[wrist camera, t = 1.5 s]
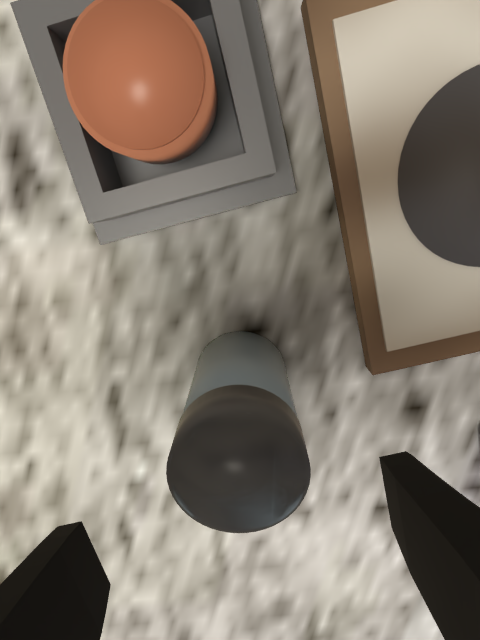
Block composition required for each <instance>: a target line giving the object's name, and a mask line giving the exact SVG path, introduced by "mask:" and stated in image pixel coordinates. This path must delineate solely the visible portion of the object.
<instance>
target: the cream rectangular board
mask: <svg viewBox="0 0 480 640" xmlns="http://www.w3.org/2000/svg"><path fill="white" fill-rule="evenodd" d="M301 11H302V17H303V22H304V28H305V33H306V39H307V44H308V50H309V55H310V61H311V66H312V72H313V77H314V83H315V88H316V94H317V100H318V105H319V111H320V116H321V122H322V127H323V133H324V138H325V144H326V149H327V155H328V160H329V166H330V171H331V177H332V182H333V188H334V193H335V199H336V204H337V210H338V215H339V221H340V226H341V232H342V237H343V243H344V248H345V254H346V259H347V265H348V270H349V276H350V281H351V287H352V292H353V298H354V303H355V309H356V314H357V320H358V325H359V331H360V336H361V342H362V347H363V353H364V359H365V364H366V367H367V368H368V370H369V371H370V372H371V374H372V375H376V374H381V373H385V372H390V371H394V370H398V369H403V368H407V367H412V366H416V365H421V364H425V363H430V362H434V361H438V360H443V359H447V358H452V357H456V356H461V355H465V354H470V353H474V352H478V351H480V0H303V2H302V5H301Z"/></svg>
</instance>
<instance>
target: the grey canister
mask: <svg viewBox="0 0 480 640" xmlns="http://www.w3.org/2000/svg"><path fill="white" fill-rule="evenodd" d="M166 474H167V482H168V485H169V489H170V491H171V494H172V496H173V498H174V499H175V501H176V502H177V504H178V505H179V506H180V507H181V509H182V510H183V511H184V512H185V513H186V514H187V515H189V516H190V517H191V518H193V519H194V520H195V521H197V522H199V523H201V524H202V525H205V526H207V527H209V528H212V529H215V530H219V531H224V532H230V533H249V532H256V531H260V530H263V529H266V528H269V527H272V526H274V525H276V524H278V523H280V522H281V521H283V520H284V519H286V518H287V517H288V516H289V515H291V514H292V513H293V512H294V511H295V510H296V509H297V507H298V506H299V505H300V503H301V502H302V500H303V499H304V497H305V495H306V493H307V490H308V487H309V483H310V463H309V458H308V454H307V450H306V445H305V441H304V437H303V433H302V429H301V426H300V423H299V420H298V418H297V415H296V411H295V406H294V402H293V398H292V394H291V389H290V385H289V381H288V377H287V373H286V368H285V364H284V361H283V358H282V356H281V354H280V352H279V351H278V349H277V348H276V347H275V346H274V344H272V343H271V342H270V341H269V340H267V339H266V338H264V337H262V336H260V335H258V334H255V333H251V332H244V331H237V332H230V333H227V334H224V335H222V336H219V337H218V338H216V339H214V340H213V341H212V342H211V343H209V344H208V345H207V347H206V348H205V349H204V350H203V352H202V354H201V356H200V358H199V361H198V364H197V368H196V371H195V374H194V378H193V381H192V385H191V388H190V391H189V395H188V398H187V402H186V405H185V408H184V412H183V415H182V417H181V419H180V421H179V424H178V427H177V430H176V433H175V437H174V440H173V443H172V447H171V450H170V453H169V457H168V461H167V472H166Z"/></svg>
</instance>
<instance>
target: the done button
mask: <svg viewBox="0 0 480 640" xmlns="http://www.w3.org/2000/svg"><path fill="white" fill-rule="evenodd" d="M63 79H64V85H65V90H66V94H67V97H68V100H69V103H70V105H71V108H72V110H73V112H74V113H75V115H76V117H77V119H78V120H79V122H80V123H81V125H82V126H83V127H84V128H85V130H86V131H87V132H88V133H89V134H90V135H91V136H92V137H93V138H94V139H95V140H97V141H98V142H99V143H101V144H102V145H103V146H105V147H106V148H108V149H110V150H112V151H114V152H117V153H119V154H122V155H125V156H128V157H130V158H133V159H136V160H139V161H141V162H145V163H149V164H158V165H159V164H169V163H174V162H177V161H180V160H182V159H184V158H186V157H188V156H189V155H191V154H192V153H193V152H195V151H196V150H197V149H198V148H199V147H200V146H201V145H202V143H203V142H204V141H205V140H206V138H207V136H208V135H209V133H210V131H211V129H212V126H213V124H214V120H215V117H216V112H217V101H218V97H217V87H216V81H215V77H214V73H213V69H212V65H211V61H210V57H209V54H208V50H207V47H206V44H205V42H204V40H203V37H202V35H201V33H200V32H199V30H198V28H197V27H196V25H195V24H194V22H193V21H192V20H191V18H190V17H189V16H188V15H187V14H186V13H185V12H184V11H183V10H182V9H181V8H180V7H179V6H178V5H176V4H175V3H174V2H172V1H171V0H95V1H93V2H92V3H91V4H90V5H89V6H87V7H86V8H85V9H84V11H83V12H82V13H81V14H80V15H79V17H78V18H77V20H76V21H75V23H74V24H73V26H72V28H71V31H70V33H69V35H68V38H67V41H66V44H65V50H64V55H63Z"/></svg>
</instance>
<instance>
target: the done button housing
mask: <svg viewBox="0 0 480 640" xmlns="http://www.w3.org/2000/svg"><path fill="white" fill-rule="evenodd" d="M93 1H95V0H18V1H15V2H12V3H10V4H11V6H12V9H13V12H14V15H15V18H16V20H17V23H18V26H19V29H20V32H21V35H22V37H23V40H24V43H25V46H26V49H27V51H28V54H29V57H30V60H31V63H32V66H33V68H34V71H35V74H36V77H37V80H38V82H39V85H40V88H41V91H42V94H43V96H44V99H45V102H46V105H47V108H48V111H49V113H50V116H51V119H52V122H53V125H54V127H55V130H56V133H57V136H58V139H59V141H60V144H61V147H62V150H63V153H64V156H65V158H66V161H67V164H68V167H69V170H70V172H71V175H72V178H73V181H74V184H75V187H76V189H77V192H78V195H79V198H80V201H81V203H82V206H83V209H84V212H85V215H86V217H87V220H88V223H93V226H94V228H95V231H96V234H97V237H98V240H99V243H100V245H102V244H106V243H110V242H113V241H117V240H121V239H125V238H128V237H132V236H136V235H140V234H143V233H147V232H151V231H155V230H158V229H162V228H166V227H170V226H173V225H177V224H181V223H185V222H188V221H192V220H196V219H200V218H203V217H207V216H211V215H215V214H218V213H222V212H226V211H230V210H233V209H237V208H241V207H245V206H248V205H252V204H256V203H260V202H263V201H267V200H271V199H274V198H278V197H282V196H286V195H289V194H293V193H297V192H296V187H295V182H294V177H293V173H292V168H291V163H290V158H289V153H288V148H287V144H286V139H285V134H284V129H283V124H282V119H281V115H280V110H279V105H278V100H277V95H276V90H275V86H274V81H273V76H272V71H271V66H270V61H269V57H268V52H267V47H266V42H265V37H264V32H263V28H262V23H261V18H260V13H259V8H258V3H257V0H171V1H172V2H174V3H175V4H176V5H178V6H179V7H180V8H181V9H182V10H183V11H184V12H185V13H186V14H187V15H188V16H189V17H190V18H191V20H192V21H193V22H194V24H195V25H196V27H197V28H198V30H199V32H200V33H201V35H202V37H203V40H204V42H205V44H206V47H207V50H208V54H209V57H210V61H211V65H212V69H213V73H214V77H215V81H216V87H217V97H218V101H217V112H216V117H215V120H214V124H213V126H212V129H211V131H210V133H209V135H208V136H207V138H206V140H205V141H204V142H203V143H202V145H201V146H200V147H199V148H198V149H197V150H196V151H195V152H193V153H192V154H191V155H189V156H188V157H186V158H184V159H182V160H180V161H177V162H174V163H169V164H159V165H158V164H149V163H145V162H141V161H139V160H136V159H133V158H130V157H128V156H125V155H122V154H119V153H117V152H114V151H112V150H110V149H108V148H106V147H105V146H103V145H102V144H101V143H99V142H98V141H97V140H95V139H94V138H93V137H92V136H91V135H90V134H89V133H88V132H87V131H86V130H85V128H84V127H83V126H82V125H81V123H80V122H79V120H78V119H77V117H76V115H75V113H74V112H73V110H72V108H71V105H70V103H69V100H68V97H67V94H66V90H65V85H64V79H63V55H64V50H65V44H66V41H67V38H68V35H69V33H70V31H71V28H72V26H73V24H74V23H75V21H76V20H77V18H78V17H79V15H80V14H81V13H82V12H83V11H84V9H85V8H86V7H87V6H89V5H90V4H91V3H92V2H93Z"/></svg>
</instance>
